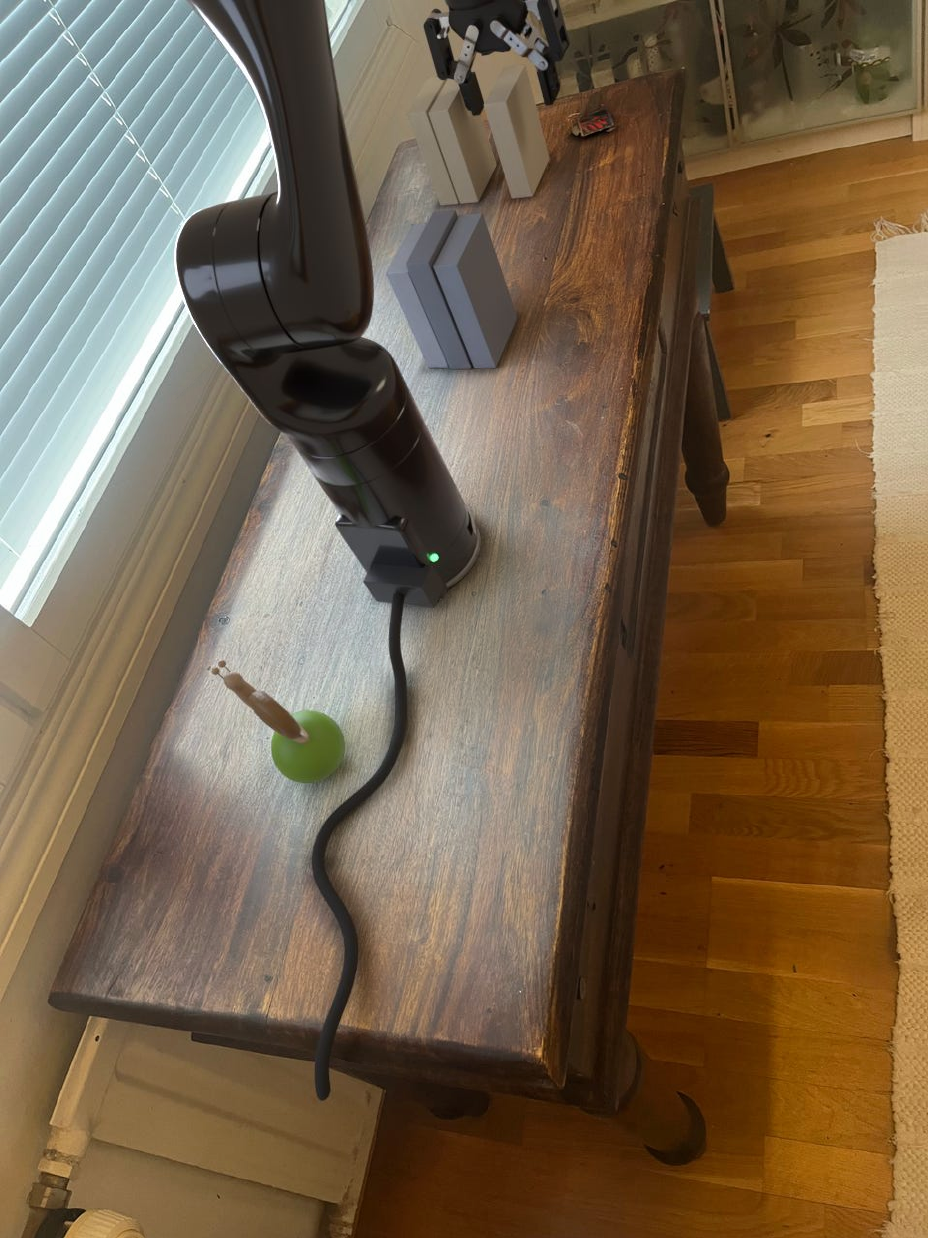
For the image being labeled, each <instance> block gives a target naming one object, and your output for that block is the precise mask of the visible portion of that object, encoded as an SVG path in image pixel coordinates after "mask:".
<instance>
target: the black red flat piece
mask: <svg viewBox="0 0 928 1238" xmlns="http://www.w3.org/2000/svg"><path fill="white" fill-rule="evenodd" d="M577 123H578V124H576V125H574V126H573V127H571V130H570V131H571V133H572V134H573V135H574V136H579V134H580V136H581V137H586V136H589V135H590V134H593V133H596V132H598V131H599V132H600V131H602V130H604V129H607V130H606V132H607V133H608V132H611V131H613V130H615V129H617V127H613V126H614V121H613V118H612V117H611V113H610V112H609V111H607V110H606V109H605V108H602V109H601V108H600V109H599V110H596V111H594V112H591V113H589V114H586V115H585V116H584V117H583V118H581V119H579V120H577ZM608 128H609V129H608Z"/></svg>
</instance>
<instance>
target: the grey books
mask: <svg viewBox="0 0 928 1238" xmlns="http://www.w3.org/2000/svg"><path fill="white" fill-rule="evenodd" d="M385 276H386V278H387V280H388V283H389V284H390V286H391V289H392V291H393V294H394V296H395V298H396V300H397V303H398V304H399V307H400V309H401V311H402V313H403V316H404V317H405V320H406V322H407V324H408V326H409V328H410V331H411V333H412V335H413V337H414V340H415V342H416V344H417V346H418V349H419V351H420V353H421V355H422V357H423V359H424V362H425V364H426V367H427V368H428V369H432V368H435V369H438V368H442V369H443V368H446V369H447V368H449V369H450V370H471V369H496V368H497V367H498V365H499V362H500V359H501V357H502V354H503V352H504V350H505V348H506V346H507V343H508V341H509V339H510V336H511V334H512V331H513V329H514V327H515V325H516V322H517V320H518V315H517V311H516V308H515V305H514V303H513V300H512V297H511V294H510V291H509V288H508V284H507V282H506V279H505V276H504V272H503V270H502V267H501V263H500V260H499V257H498V254H497V252H496V248H495V245H494V243H493V240H492V237H491V234H490V231H489V227H488V225H487V222H486V219H485V216H484V213H483V212H476V213H474V212H473V213H463V214H459V215H458V213H457V210H456V209H447V210H437V211H435V210H434V211H432V212H431V215H430V216H429V218H428V220H427V222H425V223H415V224H414V223H413V224H411V225H410V227H409V229H408V230H407V231H406V234H405V236H404V238H403V239H402V242H401V244H400V246H399V247H398V249H397V250H396V253H395V254H394V256H393V259H392V260H391V261H390V264H389V266H388V267H387V269H386V272H385Z"/></svg>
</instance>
